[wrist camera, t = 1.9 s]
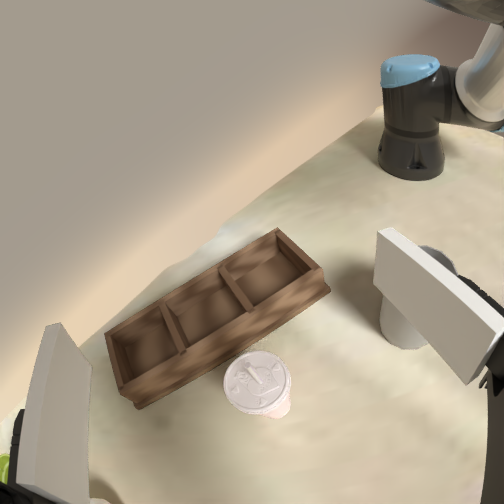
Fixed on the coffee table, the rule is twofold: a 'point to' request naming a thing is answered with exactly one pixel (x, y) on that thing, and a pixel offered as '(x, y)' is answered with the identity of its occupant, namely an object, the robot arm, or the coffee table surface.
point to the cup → (396, 323)
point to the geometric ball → (98, 501)
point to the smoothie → (259, 384)
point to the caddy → (213, 317)
